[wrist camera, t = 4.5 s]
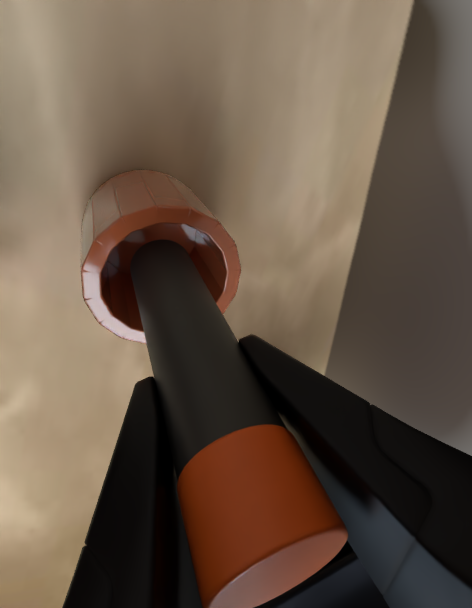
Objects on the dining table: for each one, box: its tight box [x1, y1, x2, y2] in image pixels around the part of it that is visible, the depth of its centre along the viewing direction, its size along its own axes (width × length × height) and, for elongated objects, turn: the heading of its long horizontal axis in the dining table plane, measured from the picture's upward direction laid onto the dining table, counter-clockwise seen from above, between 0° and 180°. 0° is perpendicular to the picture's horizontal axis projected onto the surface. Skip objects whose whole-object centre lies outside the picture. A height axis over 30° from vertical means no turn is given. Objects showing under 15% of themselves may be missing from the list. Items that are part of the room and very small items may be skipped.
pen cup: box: [81, 170, 241, 344], centre depth 13 cm, size 6×6×5 cm
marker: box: [130, 239, 348, 608], centre depth 9 cm, size 2×2×10 cm
